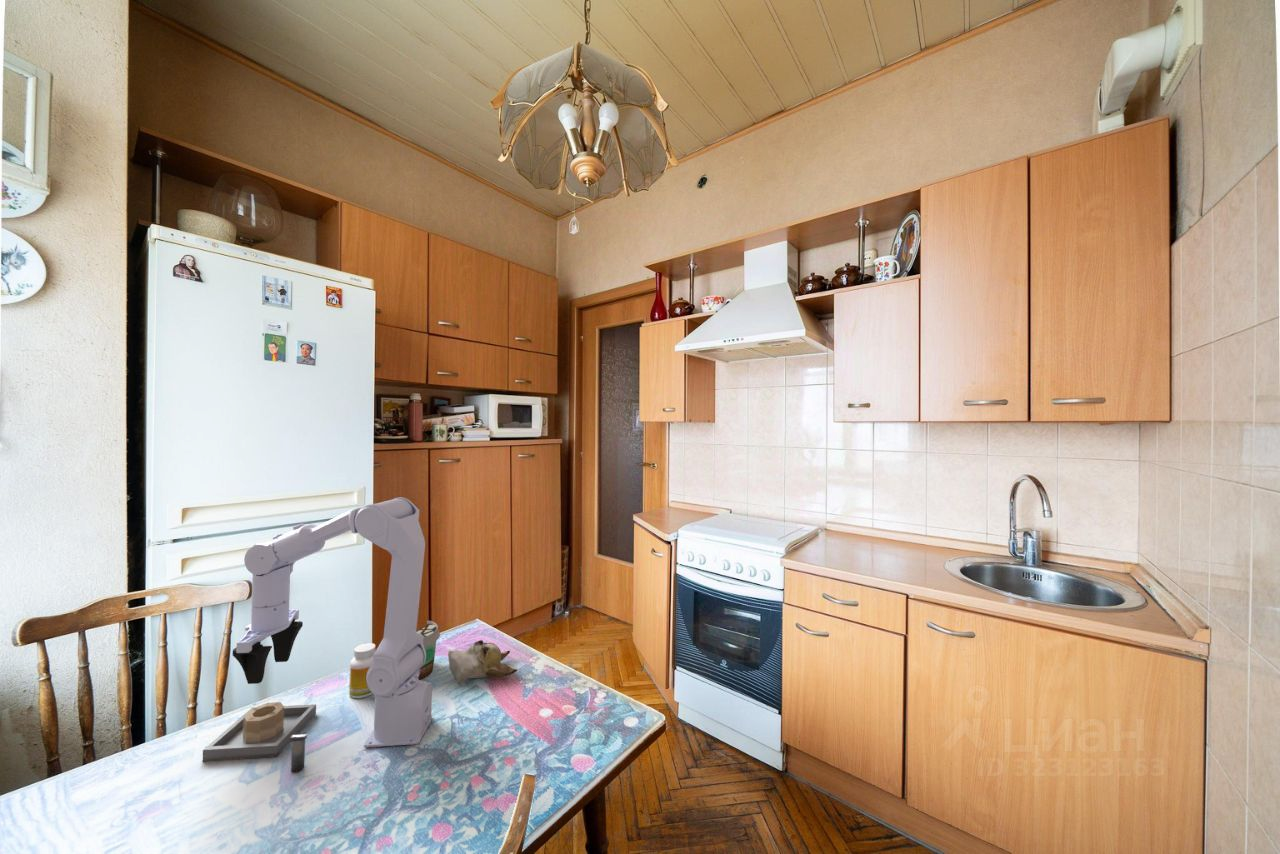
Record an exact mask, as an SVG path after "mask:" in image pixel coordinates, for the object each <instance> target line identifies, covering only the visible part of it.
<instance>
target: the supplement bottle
mask: <svg viewBox="0 0 1280 854" xmlns="http://www.w3.org/2000/svg"><path fill="white" fill-rule="evenodd" d="M376 650H377V648H376V644H375V643H374V642H373V643H370V642H369V643H368V642H367V643H362V644H358V646H357V645H356V647H355V648H354V650H353V658H352V659H351V660H350V662H349V663H350V664H349V679H348V680H349V683H348V684H349V685H348V687H349V688H348V689H349V690H348V693H349V694H348V695H349V697H351V698H353V699H364V698H366V697H367V698H368V697H369V696H372V695H373V693H372V692H371V691H370V689H369V688H368V686H367V682H366V675H367V672H368V670H369V668H370V667H371V665H372V662H373V655H374V653H375V651H376Z"/></svg>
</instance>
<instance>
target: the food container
mask: <svg viewBox="0 0 1280 854" xmlns="http://www.w3.org/2000/svg"><path fill="white" fill-rule="evenodd" d="M439 628H440V627H439V626H438V624H437V623H436V622H434V621H431V620H427V622H426V624H425V625H424V626H423V627H421V628H420V629H416V632H418V633H420V634H421V635H423V636H424V638H423V645H424V648H425V651H426V660H425V663H424V665H423V666H422V667H421V668H420V669H419V676H418V680H420V681H423V680H425V679H427V678H428V677H430V676H431V675H432V673H433V672H434V666H435V665H434V664H435V657H436V650H437V649H436V647H437V642H438V640H439V638H440V636H441V633H440V629H439Z"/></svg>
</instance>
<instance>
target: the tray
mask: <svg viewBox="0 0 1280 854" xmlns="http://www.w3.org/2000/svg"><path fill="white" fill-rule="evenodd" d="M283 706H284V728H283V729H282V730H281V731H280V732H279V733H278V734H277V735H276V736H275V737H272V738H270V739H268V740H265V741H263V742H260V743H247V744H246V742H245V741H244V739H243V722H244V715H246V714H247V713H248V712H249V711H250V710H251V709H252V708H255V707H256V706H255V707H254V706H253V707H251V708H249V710H248V711H247V712H245V713H244V714H243V715H241V717H240V718H238V719H237V720H236V721H235V722H234V723H232V724H231V725H230V726H229V727H228V728H226V730H224V731H223V732H222V733H221V734H220V735H218V736H217V737H216V738H215V739H214V740H213V741H212V742H211V743H208V745H207V746H205V748H203V749H202V762H217V761H234V760H250V759H251V760H253V759H265V758H267V759H268V758H277V757H278V756H279V755H280V754H281V753H282V752H283V751H284V750H285V749H286V748H287V747H288V745H290V743H292V741H290V737H291V736H292V735H299V734H300V732H302V731H303V729H304V728H305V727H306V726H307V725H308V724H309V723H310V722H311V721H312V719H314V717H315V716H316V715H317V704H316V703H315V704H301V705H299V704H298V705H297V704H295V705H283Z"/></svg>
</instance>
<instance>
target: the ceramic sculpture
mask: <svg viewBox="0 0 1280 854" xmlns="http://www.w3.org/2000/svg"><path fill="white" fill-rule="evenodd" d="M510 653H511V651H510V650H506V651H504V652H501V649H500V647H499V646H498V645H497V644H495V643H494V642H484V641H483V640H482V639H481V640H478V641H475V642H473V643H472V644H471V645H470V647H469V648H468V649H467V650H457V649H456V650H449V651H448V652H447V654H448V667H449V670H450V672H451V673H452V677H453V679H454V681H455V682H457V684H462V683H464V681H466V680H468V679H475V678H476V679H484V678H494V679H503V678H506V677H508V676H510V675H512V674H514V673H516V672H518V669H517V668H512V667H511V666H509V665H508V664H505V663H501V662H502V661H504V659H505V658H506V657H508V655H510Z"/></svg>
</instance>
